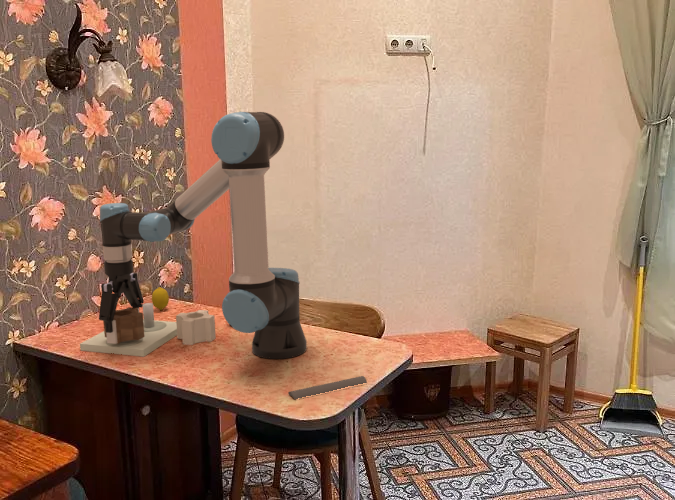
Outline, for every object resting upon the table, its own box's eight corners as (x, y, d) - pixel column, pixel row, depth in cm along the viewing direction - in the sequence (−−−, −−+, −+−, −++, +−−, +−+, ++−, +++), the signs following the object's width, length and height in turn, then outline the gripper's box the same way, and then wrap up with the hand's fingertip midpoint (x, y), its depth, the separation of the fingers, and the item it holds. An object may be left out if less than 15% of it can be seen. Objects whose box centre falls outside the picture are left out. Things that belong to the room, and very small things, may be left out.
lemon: (149, 312, 221) (148, 289, 219) (156, 307, 226) (155, 284, 224) (165, 312, 220) (163, 289, 218) (172, 308, 225) (170, 285, 223)
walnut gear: (151, 332, 190) (150, 308, 189) (130, 344, 180) (128, 320, 179) (118, 329, 193) (117, 306, 192) (96, 341, 183) (94, 317, 182)
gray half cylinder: (287, 396, 156) (286, 389, 155) (359, 380, 164) (359, 373, 164) (294, 402, 152) (294, 395, 152) (368, 386, 161) (368, 379, 160)
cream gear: (221, 333, 198) (220, 311, 197) (204, 346, 188) (203, 322, 186) (188, 331, 201) (187, 309, 200) (170, 343, 191) (169, 319, 189)
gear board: (186, 329, 203) (184, 300, 201) (143, 356, 180) (141, 325, 178) (128, 324, 208) (126, 296, 206) (80, 350, 186) (77, 319, 184)
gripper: (129, 250, 194) (135, 322, 199) (79, 268, 172) (87, 349, 177) (152, 251, 192) (157, 324, 197) (104, 270, 170) (111, 351, 175)
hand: (124, 336), depth 187 cm, fingers closed on walnut gear, 11 cm apart
